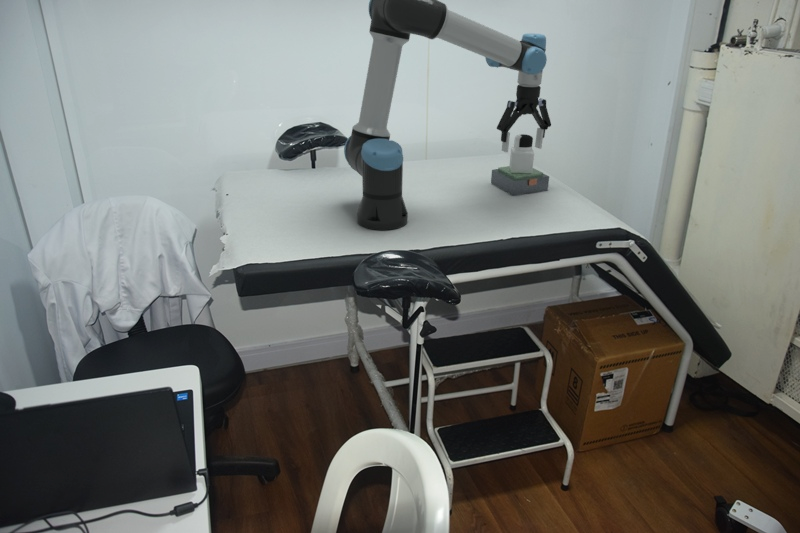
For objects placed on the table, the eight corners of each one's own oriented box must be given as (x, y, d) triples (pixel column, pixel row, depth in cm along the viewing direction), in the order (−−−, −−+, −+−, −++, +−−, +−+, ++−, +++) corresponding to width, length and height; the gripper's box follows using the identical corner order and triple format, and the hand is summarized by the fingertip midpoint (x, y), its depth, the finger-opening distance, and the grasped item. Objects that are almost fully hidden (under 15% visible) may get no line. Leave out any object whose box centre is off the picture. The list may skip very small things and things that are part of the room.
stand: (514, 196, 204) (516, 179, 202) (490, 183, 216) (492, 167, 214) (548, 190, 210) (550, 174, 207) (523, 178, 222) (525, 162, 219)
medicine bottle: (530, 167, 213) (533, 133, 208) (532, 173, 207) (536, 138, 202) (509, 166, 214) (512, 132, 209) (510, 173, 208) (514, 138, 202)
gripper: (503, 88, 190) (496, 155, 199) (567, 85, 200) (558, 149, 209) (490, 84, 196) (484, 149, 205) (553, 81, 206) (544, 143, 215)
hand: (521, 149), depth 207 cm, fingers open, 13 cm apart
